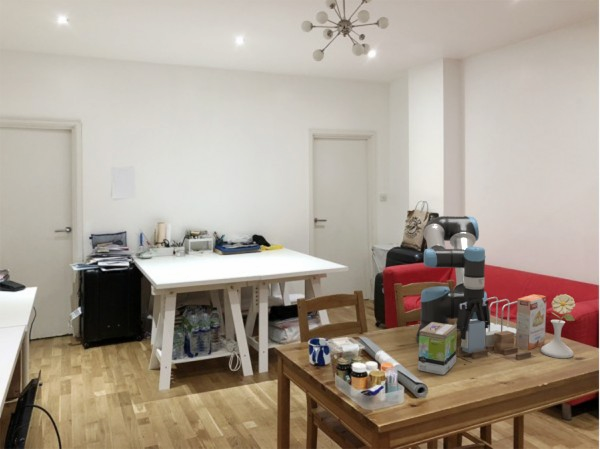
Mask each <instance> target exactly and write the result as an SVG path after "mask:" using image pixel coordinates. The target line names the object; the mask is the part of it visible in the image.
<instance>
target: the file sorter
mask: <svg viewBox="0 0 600 449" xmlns="http://www.w3.org/2000/svg"><path fill="white" fill-rule="evenodd" d="M494 299H495V300H496V301H491V303H489V306H488V308H489V317H490V318H491V311H492V310H491V308H492V305H493V304H496V306H495V307H496V311H495V323H494V322H490V325H489V326H488V328H486V332H490V331H495V330H498V331H501V332H502V331H510V332H513V333H514V338H516V328H515V327H511V326H510V324H509V323H510V306H511V305H514V304H517V300H515V301H512V302H510V300H509V299H507V298H504V299H500V300H499V299H498V297H497V296H493V297H492V296H491V297H489V298H488V297H487V301H490V300H494ZM506 301H507V303H506V304H504V305H503V306H502V308H501V313H500V315H501V316H500V317H501V318H500V324H499V323H498V314H499V312H498V311H499V309H498V308H499V303H502V302H506ZM505 307H507V321H506V323H507V324H506V325H503V323H504V309H505ZM474 320H478V319H474ZM470 321H473V320H472V319H470ZM454 325H456V326H457V319H454ZM457 331H460V330H459V329H457ZM460 332H461V331H460Z"/></svg>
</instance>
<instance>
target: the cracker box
mask: <svg viewBox="0 0 600 449" xmlns="http://www.w3.org/2000/svg"><path fill="white" fill-rule="evenodd" d="M516 301H517V303H516V304H517V305H516V336H515V347H517V348H518V349H522V350H527V351H530V350H533V349H535V348H538V347H540V346H542V347H543V346H544V345H545V341H546V339H545V336H546V316H547V313H546V312H547V296H545V295H541V294H535V293H533V294H529V295H527V296H523V297H520V298H517V299H516Z"/></svg>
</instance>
